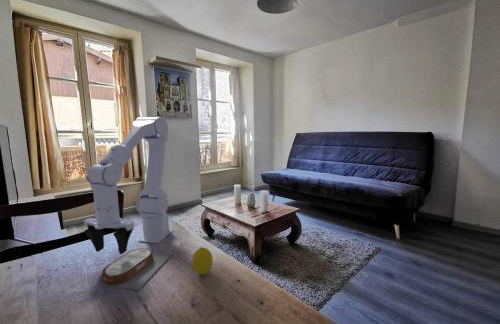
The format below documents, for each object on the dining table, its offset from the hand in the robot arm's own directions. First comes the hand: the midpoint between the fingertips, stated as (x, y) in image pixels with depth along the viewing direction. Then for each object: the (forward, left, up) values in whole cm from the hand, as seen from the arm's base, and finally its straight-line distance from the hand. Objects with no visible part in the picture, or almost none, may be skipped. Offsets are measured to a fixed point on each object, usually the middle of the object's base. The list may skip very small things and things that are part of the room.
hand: (111, 251), depth 70 cm
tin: (0, +2, -3) cm, 3 cm away
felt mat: (-1, +9, -5) cm, 10 cm away
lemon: (-1, +28, -5) cm, 28 cm away
